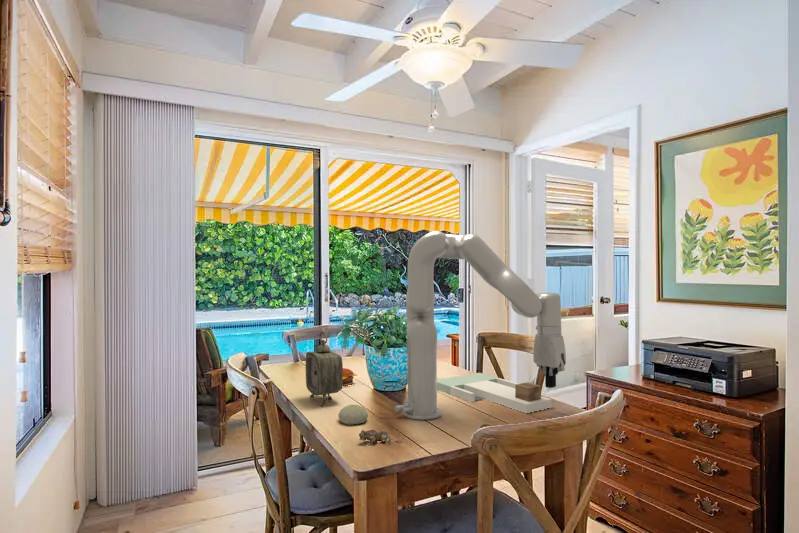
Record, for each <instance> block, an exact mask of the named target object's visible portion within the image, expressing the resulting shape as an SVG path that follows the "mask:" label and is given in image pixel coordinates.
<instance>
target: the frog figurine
mask: <svg viewBox="0 0 799 533" xmlns="http://www.w3.org/2000/svg"><path fill="white" fill-rule="evenodd" d="M388 434H389V430H388V429H386V428H385V429H383V430H380V431H376V429H370V430H364V429H362V430H361V431H360V432H359V434H358V436H359V437H360V438H359V440H366V439H367V440H370V442H368V443H367V444H366V446H367V445H368V446H371V447H373V446H372V445H374V443H373V442H377V441H382V440H384V441H385V442H386V444H385V445H389V444H388V443H390V442H391V441H392V440H391V438H390V437H389V436H388ZM382 435H383V436H384V437H382ZM384 441H383V442H384ZM390 444H391V443H390ZM368 446H367V447H368Z"/></svg>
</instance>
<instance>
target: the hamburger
mask: <svg viewBox="0 0 799 533" xmlns="http://www.w3.org/2000/svg"><path fill="white" fill-rule="evenodd" d="M354 376H358V375H357V374H356V373H354V371H353V370H351V369H349V368H345V367H343V385H342V386H348V385H352V384H353V385H354ZM353 385H352V386H353Z"/></svg>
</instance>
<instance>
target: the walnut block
mask: <svg viewBox="0 0 799 533" xmlns="http://www.w3.org/2000/svg"><path fill="white" fill-rule="evenodd" d="M541 396H542V386H541V385H539V384H535V383H532V382H527V381H526V382H522V383H519V384H516V385H515V398H518V399H521V400H524V401H528V402H530V401H535V400H539V399H541Z"/></svg>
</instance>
